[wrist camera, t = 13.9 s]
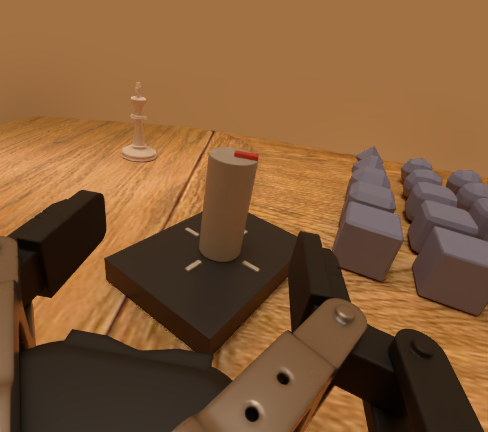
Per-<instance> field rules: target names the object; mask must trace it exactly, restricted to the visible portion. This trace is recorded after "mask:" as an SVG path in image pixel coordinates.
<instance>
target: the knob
mask: <svg viewBox="0 0 488 432" xmlns="http://www.w3.org/2000/svg"><path fill="white" fill-rule="evenodd" d="M258 156H259V155H258V154H253V153H250V152H248V151H245V150H241V149H237V148H230V147H219V148H214V149H212V150H210V152H209V157H208V167H207V176H206V185H205V195H204V204H203V213H202V223H201V232H200V241H199V250H200V252H201V253H202V255H204V256H205V257H206V258H208V259H210V260H213V261H218V262H227V261H231V260H234V259H236V258H237V257H238V256H239V254H240V252H241V246H242V241H243V236H244V231H245V226H246V221H247V215H248V210H249V205H250V200H251V195H252V190H253V184H254V179H255V174H256V169H257V164H258Z"/></svg>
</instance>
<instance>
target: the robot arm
mask: <svg viewBox="0 0 488 432" xmlns="http://www.w3.org/2000/svg"><path fill="white" fill-rule="evenodd" d="M105 233H106V215H105V201H104V196H103V194H101V193H97V192H91V191H86V190H80V191H79V192H77V193H76V194H75V195H73V196H72V197H71V198H69V199H65V200H62V201H60V202H57V203H54V204H52V205H50V206H49V207H48V208H46V209H45V210H43V212H42V213H39V214H38V215H36V216H35V218H32V219H31V220H29V221H28V222H26V223H25V224H24V225H22V226H21V227H19V228H18V229H17V230H15V231H14V232H12V233H11V234H10V235H8V236H7V237H5V236H0V432H304V431H305V430H306V428H307V426H308V425H309V423H310V422H311V420H312V419H313V417H314V416H315V415H316V413H317V412H318V410H319V409H320V407H321V406H322V404H323V403H324V401H325V400H326V398H327V397H328V395H329V394H330V392H331V391H332V389H333V388H334V386H335V385H336V386H338V387H340V388H341V389H343V390H345V391H347V392H349V393H351V394H353V395H355V396H357V397H359V398H361V399H362V401H363V406H364V411H365V416H366V421H367V426H368V432H484V430H483V428H482V426H481V424H480V422H479V420H478V418H477V416H476V414H475V412H474V410H473V408H472V406H471V404H470V402H469V400H468V398H467V396H466V394H465V392H464V390H463V388H462V386H461V384H460V382H459V380H458V378H457V376H456V374H455V372H454V370H453V368H452V366H451V364H450V362H449V360H448V358H447V356H446V354H445V352H444V351H443V349H442V348H441V347H440V346H439V345H438V344H437V343H436V342H435V341H434V340H433V339H431V338H430V337H428V336H427V335H425V334H423V333H421V332H419V331H416V330H413V329H402V330H400V331H398V333H397V334H396V336H395V337H394V336H392V335H390V334H387V333H385V332H383V331H380V330H378V329H376V328H374V327H372V326H370V325H369V324H367V320H366V317H365V315H364V314H363V312H362V311H361V310H360V309H359V308H358V307H357V306H355V305H354V304H352V303H351V301H350V298H349V295H348V291H347V288H346V285H345V282H344V278H343V277H342V272H341V269H340V265H339V262H338V258H337V257H336V256H335V255H334V253H333V252H332V251H331V250H330V249H327V248H322V244H321V240H320V236H319V235H318V234H313V233H307V232H302V231H300V232H299V235H298V237H297V241H296V244H295V247H294V250H293V254H292V257H291V260H290V264H289V270H288V283H289V299H290V314H291V330H292V332H291V331H289V330H287V331H285V332H284V333H283V334H282V335H281V336H279V337H278V338H277V339H276V340H275V341H274V342H273V343H272V344H271V345H270V346H269V347H268V348H267V349H266V350H265V351H264V352H263V353H262V354H261V355H260V356H259V357H257V358H256V359H255V360H254V361H253V362H252V363H251V364H250V365H249V366H248V367H247V368H246V369H245V370H244V371H243V372H242V373H241V374H240V375H239V376H238V377H237V378H235V379H234V380H231V379H230V378H229V377H228V376H227V375H225V374H224V373H222V372H221V371H219V370H218V369H216V368H213V367H211V365H212V360H213V355H209V354H204V353H199V352H193V351H188V350H182V349H165V350H145V351H141V350H137V349H134V348H132V347H130V346H128V345H126V344H124V343H122V342H119V341H117V340H115V339H113V338H111V337H109V336H106V335H101V334H95V333H90V332H85V331H79V330H74V329H72V330H71V332H70V333H69V335H68V336H67V337H66V339H65V340H64V341H56V342H50V343H46V344H42V345H38V346H36V342H35V326H34V311H33V304H32V300H33V299H34V298H35V297H36V296H37V295H38V296H43V297H49V298H52V297H53V296H54V295H55V294H56V292H57V291H58V290H59V289H60V288H61V287H62V286H63V285H64V283H65V282H66V281H67V280H68V279H69V278H70V277H71V275H72V274H73V273H74V272H75V271H76V270H77V269H78V268H79V266H80V265H81V264H82V263H83V262H84V261H85V260H86V259H87V257H88V256H89V255H90V254H91V253H92V252H93V251H94V249H95V248H96V247H97V246H98V245H99V244H100V243H101V242H102V240H103V238H104V236H105Z"/></svg>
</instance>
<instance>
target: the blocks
mask: <svg viewBox="0 0 488 432" xmlns="http://www.w3.org/2000/svg"><path fill="white" fill-rule="evenodd" d="M356 158H357V160H358V162H356V163H354V165H353V168H352V173H353V174H352V176H351V179H350V182H349V185H348V187H347V192H346V194H347V198H346V200H345V203H344V206H343V208H342V212H341V217H340V223H341V224H340V227H339V230H338V232H337V235H336V238H335V241H334V246H333V250H332V252H333V253H334V255H335V256H336V257H337V258H338V262H339V265H340V267H341V268H344V269H347V270H350V271H353V272H356V273H358V274H361V275H364V276H367V277H370V278H373V279H375V280H378V281H381V280H384V278H385V276H386V274H387V272H388V270H389V268H390V266H391V264H392V262H393V260H394V259H395V257H396V255H397V253H398V251H399V249H400V247H401V245H402V243H403V241H404V238H403V232H402V226H401V221H400V217H399V215H396V214H393V213H394V211H395V209H396V206H395V200H394V196H393V194H392V192H391V190H390V188H391V187H390V181H389V179H388V177H387V176H386V171H385V169H384V168H383V166H382V164H383V161H382V159H381V158H380V156H379V154H378V152H377V150H376V148H375V146H373V147H371V148H370V149H368V150H366V151H364V152H362V153H360V154H358V155H356ZM401 178H402V179H403V180H404V183H403V193H404V195H405V196H406V197H408V199H407V201H406V203H405V213H406V217H407V218H408V219H409V220H410V221H412V223H411V225H410V227H409V229H408V235H409V240H410V245H411V249H412V250H414V251H415V252H417V253H419V254H418V256H417V258H416V259H415V261H414V263H413V271H414V276H415V281H416V287H417V292H418V295H420V296H422V297H425V298H428V299H431V300H434V301H436V302H439V303H442V304H445V305H448V306H450V307H453V308H456V309H459V310H462V311H465V312H467V313H470V314H473V315H477V316H478V315H479V314H480V313H481V312H482V310H483V309H484V308H485V306H486V305H487V304H488V185H485V184H482V180H481V178H480V176H479V174H477V173H476V172H474V171H472V170H458V171H456V172H453V173H452V174H451V176H450V177H449V178H448V179H447V184H446V187H443V186H442V178H441V177H440V176H439V175H437V174H436V173H435V172H433V171H432V165H431V164H430V163H429V162H427V161H426V160H425V159H423V158H420V159H410V160H409V161H408V162H407V163H406V164H405V165H404V166H403V167H402V168H401Z"/></svg>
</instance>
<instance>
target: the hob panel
mask: <svg viewBox="0 0 488 432" xmlns="http://www.w3.org/2000/svg"><path fill="white" fill-rule="evenodd" d="M202 213H203V212H201V213H199V214H197V215H195V216H193V217H190V218H188V219H186V220H184V221H182V222H180V223H178V224H176V225H174V226H172V227H169V228H167V229H165V230H163V231H161V232H159V233H157V234H155V235H153V236H151V237H148V238H146V239H144V240H142V241H140V242H138V243H136V244H134V245H132V246H129V247H127V248H125V249H123V250H121V251H119V252H117V253H115V254H113V255H111V256H108V257H106V258H105V270H106V279H107V280H108V281H109V282H111V283H112V284H113V285H114V286H115V287H117V288H118V289H119V290H120V291H122V292H123V293H124V294H125V295H127V296H128V297H129V298H130V299H132V300H133V301H134V302H135V303H136V304H138V305H139V306H140V307H141V308H143V309H144V310H145V311H146V312H148V313H149V314H150V315H151V316H152V317H154V318H155V319H156V320H157V321H159V322H160V323H161V324H162V325H164V326H165V327H166V328H167V329H169V330H170V331H171V332H172V333H173V334H175V335H176V336H177V337H178V338H180V339H181V340H182V341H183V342H185V343H186V344H187V345H188V346H190V347H191V348H192V349H193V350H194V351H196V352H199V353H204V354H209V355H212V354H213V353H214V352H215V351H216V350H217V349H218V348H219V347H220V346H221V345H222V344H223V343H224V342H225V341H226V340H227V339H228V338H229V337H230V336H231V335H232V334H233V332H234V331H235V330H236V329H237V328H238V327H239V326H240V325H241V324H242V323H243V322H244V321H245V320H246V319H247V318H248V317H249V316H250V315H251V314H252V313H253V312H254V311H255V310H256V308H257V307H258V306H259V305H260V304H261V303H262V302H263V301H264V300H265V299H266V298H267V297H268V296H269V295H270V294H271V293H272V292H273V291H274V290H275V289H276V288H277V287H278V286H279V284H280V283H281V282H282V281H283V280H284V279H285V278H286V277H287V276H288V270H289V264H290V260H291V257H292V254H293V250H294V247H295V244H296V241H297V236H295V235H293V234H291V233H289V232H287V231H285V230H283V229H281V228H279V227H277V226H275V225H273V224H271V223H269V222H267V221H265V220H263V219H260V218H258V217H256V216H254V215H252V214H250V213H248V215H247V221H246V226H245V231H244V236H243V241H242V246H241V252H240V254H239V256H238V257H237V258H236V259H234V260H231V261H227V262H218V261H213V260H210V259H208V258H206V257H205V256H204V255H202V253H201V252H200V250H199V241H200V232H201V223H202Z"/></svg>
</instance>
